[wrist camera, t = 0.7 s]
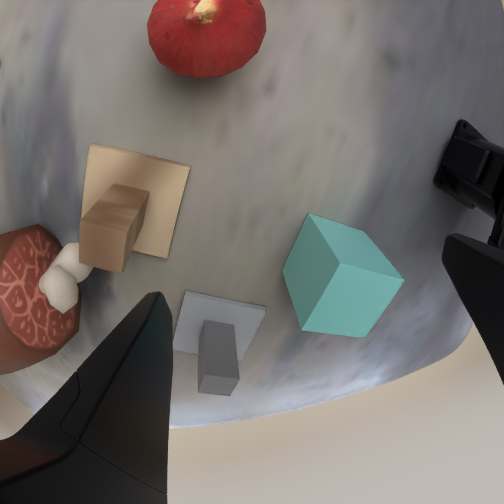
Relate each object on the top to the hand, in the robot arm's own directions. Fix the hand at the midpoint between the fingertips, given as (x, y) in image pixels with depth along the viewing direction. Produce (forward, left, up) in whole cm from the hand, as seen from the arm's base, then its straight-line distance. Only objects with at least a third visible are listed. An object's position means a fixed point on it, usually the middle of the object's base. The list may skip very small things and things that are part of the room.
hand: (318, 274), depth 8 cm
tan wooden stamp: (+8, +5, -13) cm, 16 cm away
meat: (+18, +14, -13) cm, 26 cm away
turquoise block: (-7, +5, -13) cm, 15 cm away
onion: (+6, -7, -13) cm, 16 cm away
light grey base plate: (-1, +15, -13) cm, 20 cm away
